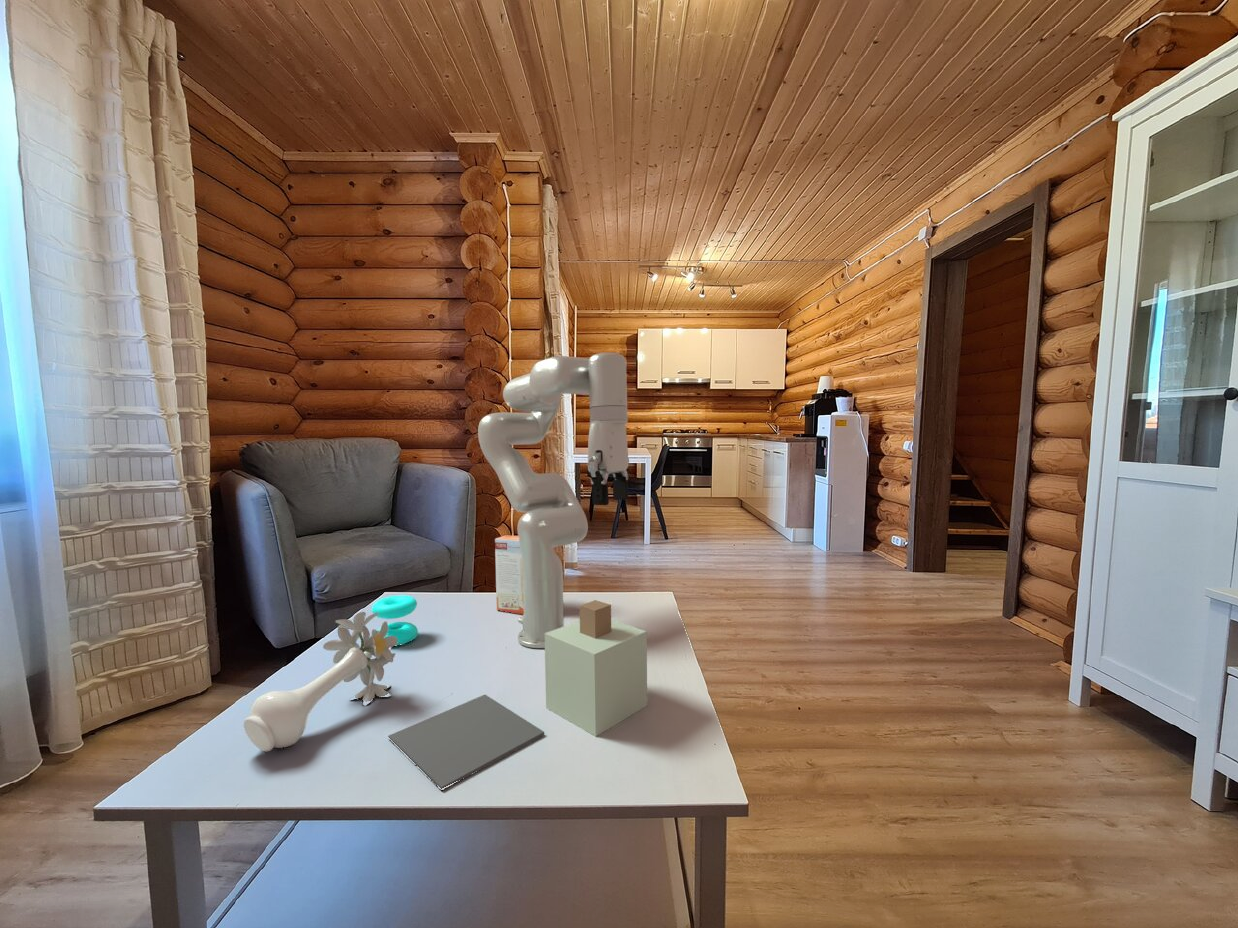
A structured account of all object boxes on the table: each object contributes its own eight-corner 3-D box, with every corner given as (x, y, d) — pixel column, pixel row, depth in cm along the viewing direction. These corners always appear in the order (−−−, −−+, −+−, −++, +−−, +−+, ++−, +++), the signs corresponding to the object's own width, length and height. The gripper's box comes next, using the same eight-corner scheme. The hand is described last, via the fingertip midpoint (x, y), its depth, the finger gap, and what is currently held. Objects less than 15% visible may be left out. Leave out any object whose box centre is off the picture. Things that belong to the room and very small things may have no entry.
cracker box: (549, 611, 144) (548, 537, 142) (537, 618, 138) (535, 541, 137) (509, 604, 150) (507, 533, 148) (495, 611, 144) (493, 537, 143)
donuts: (413, 591, 130) (419, 602, 122) (414, 629, 131) (421, 643, 122) (369, 598, 125) (373, 610, 117) (371, 637, 126) (375, 652, 117)
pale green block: (546, 707, 93) (543, 606, 92) (597, 682, 102) (596, 589, 101) (595, 736, 84) (593, 624, 83) (647, 705, 93) (646, 604, 92)
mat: (388, 739, 84) (388, 735, 84) (485, 697, 97) (485, 694, 97) (441, 791, 71) (441, 787, 71) (544, 735, 84) (544, 731, 84)
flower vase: (295, 797, 80) (413, 687, 102) (272, 708, 73) (404, 610, 95) (240, 764, 85) (365, 665, 106) (214, 677, 78) (353, 591, 100)
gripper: (609, 418, 111) (611, 496, 112) (571, 415, 96) (574, 506, 96) (641, 417, 108) (643, 497, 109) (607, 414, 93) (610, 507, 93)
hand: (611, 501), depth 103 cm, fingers open, 9 cm apart
